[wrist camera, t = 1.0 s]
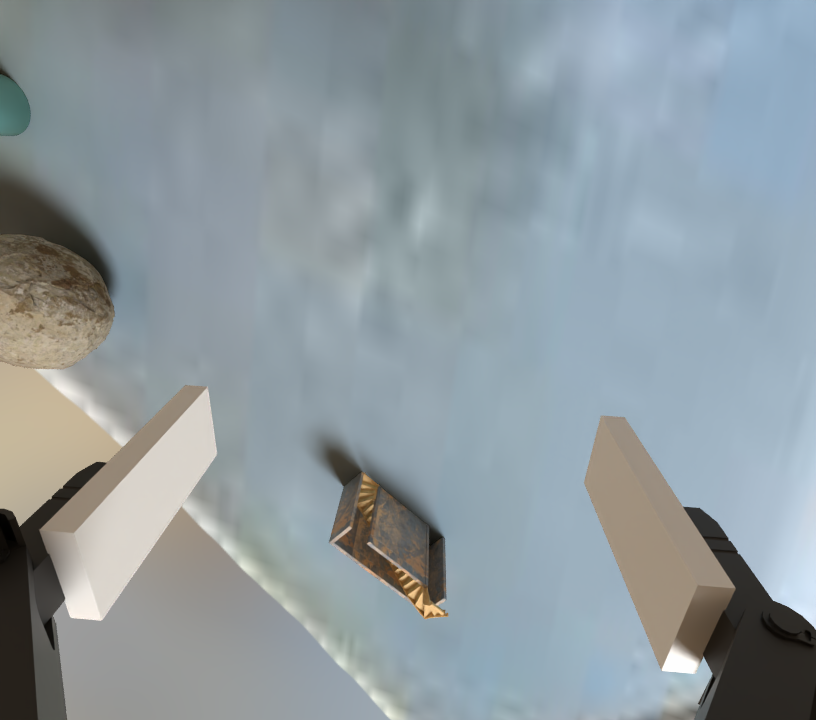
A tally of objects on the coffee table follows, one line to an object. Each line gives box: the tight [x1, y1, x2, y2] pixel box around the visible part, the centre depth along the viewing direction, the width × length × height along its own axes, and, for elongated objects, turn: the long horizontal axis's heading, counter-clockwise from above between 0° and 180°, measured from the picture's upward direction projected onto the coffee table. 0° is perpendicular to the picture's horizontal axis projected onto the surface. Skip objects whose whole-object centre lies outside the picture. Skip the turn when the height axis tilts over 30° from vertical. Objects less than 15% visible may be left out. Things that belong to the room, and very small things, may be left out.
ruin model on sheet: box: [329, 472, 448, 619], centre depth 44 cm, size 11×3×10 cm, turn 46°
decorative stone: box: [0, 234, 115, 369], centre depth 36 cm, size 10×8×10 cm
